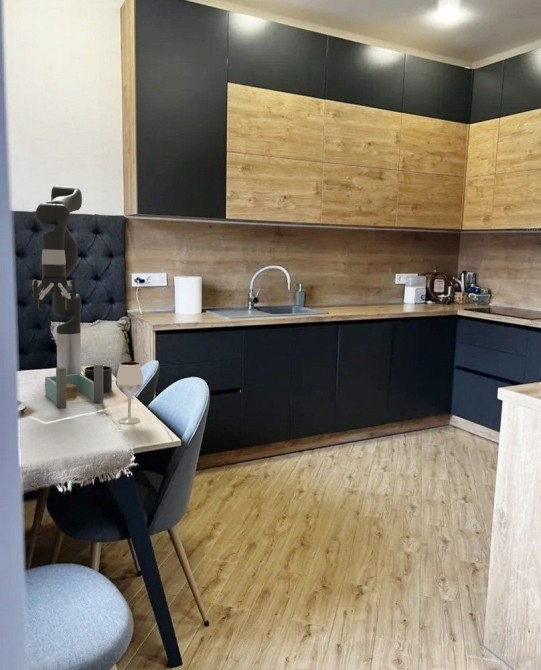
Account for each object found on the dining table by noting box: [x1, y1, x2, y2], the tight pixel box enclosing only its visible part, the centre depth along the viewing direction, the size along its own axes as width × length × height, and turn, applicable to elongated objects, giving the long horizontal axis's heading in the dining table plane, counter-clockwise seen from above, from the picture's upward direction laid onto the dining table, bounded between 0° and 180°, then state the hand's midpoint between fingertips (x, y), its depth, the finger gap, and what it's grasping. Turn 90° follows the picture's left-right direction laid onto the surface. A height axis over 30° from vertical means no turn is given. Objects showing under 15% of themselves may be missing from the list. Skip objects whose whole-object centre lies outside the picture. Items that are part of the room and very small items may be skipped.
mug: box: [84, 365, 113, 395], centre depth 202 cm, size 9×12×9 cm
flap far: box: [90, 363, 104, 404], centre depth 186 cm, size 3×5×13 cm, turn 57°
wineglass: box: [115, 361, 144, 425], centre depth 169 cm, size 8×8×18 cm
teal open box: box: [44, 373, 93, 405], centre depth 191 cm, size 14×12×7 cm
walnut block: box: [66, 384, 77, 399], centre depth 192 cm, size 4×4×4 cm
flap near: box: [55, 367, 67, 409], centre depth 179 cm, size 3×5×13 cm, turn 28°
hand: (54, 309), depth 193 cm, fingers open, 8 cm apart
